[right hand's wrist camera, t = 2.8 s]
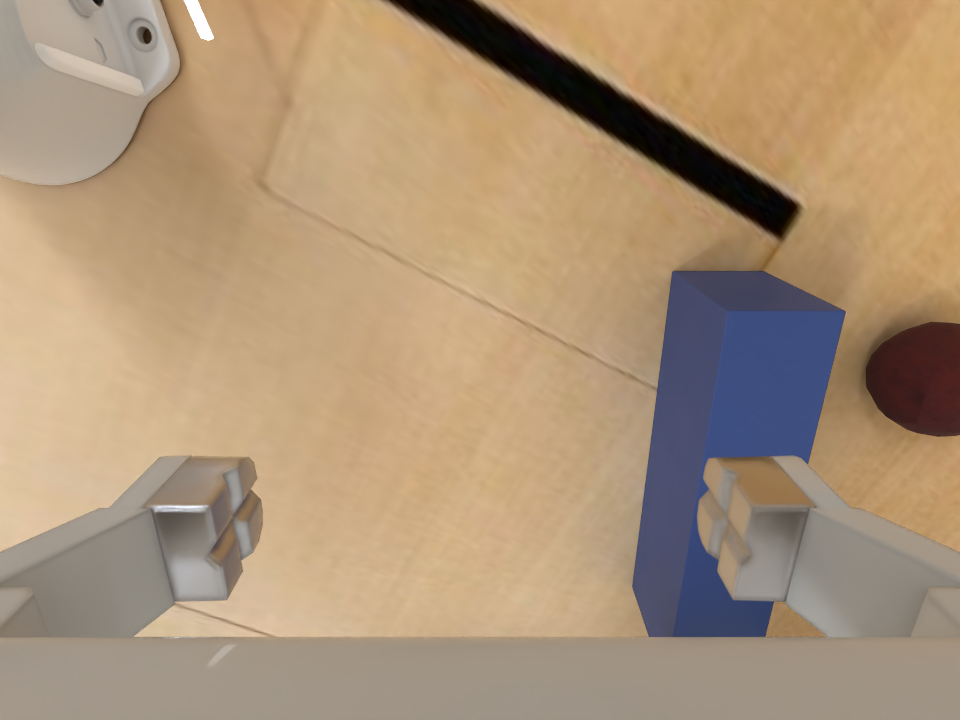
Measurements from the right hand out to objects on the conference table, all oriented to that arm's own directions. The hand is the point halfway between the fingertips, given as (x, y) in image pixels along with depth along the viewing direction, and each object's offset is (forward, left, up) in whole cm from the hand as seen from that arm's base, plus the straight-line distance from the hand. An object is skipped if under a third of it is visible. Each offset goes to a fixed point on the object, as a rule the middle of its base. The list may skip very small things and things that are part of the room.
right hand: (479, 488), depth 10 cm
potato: (+9, +30, -29) cm, 43 cm away
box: (+16, +16, -29) cm, 37 cm away
